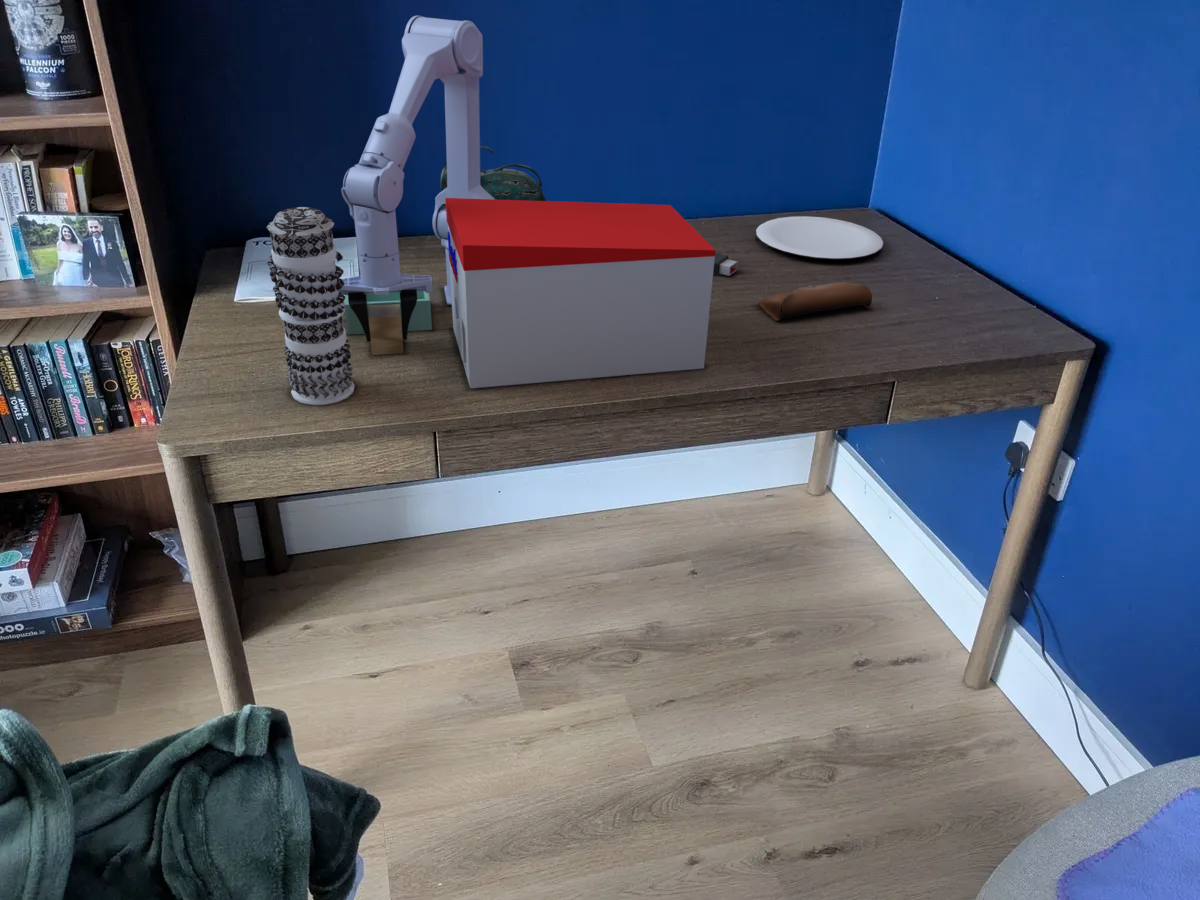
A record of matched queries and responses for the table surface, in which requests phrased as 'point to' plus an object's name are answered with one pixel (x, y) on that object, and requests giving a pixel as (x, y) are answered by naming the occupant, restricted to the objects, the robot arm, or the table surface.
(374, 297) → the desk bin
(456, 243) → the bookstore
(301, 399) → the decorative candle
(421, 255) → the table surface
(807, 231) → the plate
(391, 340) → the beech block
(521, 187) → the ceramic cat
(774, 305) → the sunglasses case
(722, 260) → the usb drive
